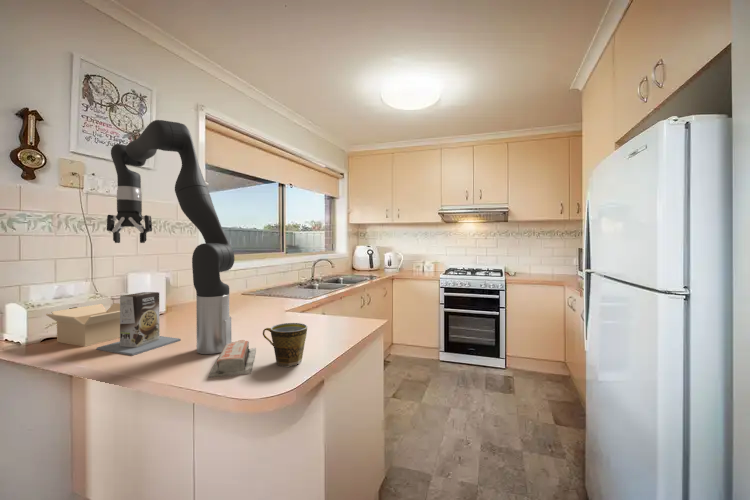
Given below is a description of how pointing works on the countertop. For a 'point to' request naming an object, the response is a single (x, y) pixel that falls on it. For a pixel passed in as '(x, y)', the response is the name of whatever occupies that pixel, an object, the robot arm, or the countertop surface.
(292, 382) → the countertop surface
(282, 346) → the ceramic cup
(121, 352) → the mat
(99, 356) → the countertop surface
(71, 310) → the carton
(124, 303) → the coffee box
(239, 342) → the packaged product
